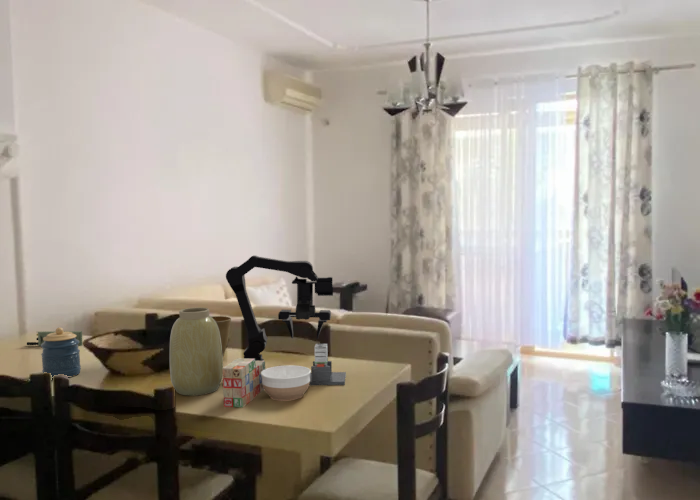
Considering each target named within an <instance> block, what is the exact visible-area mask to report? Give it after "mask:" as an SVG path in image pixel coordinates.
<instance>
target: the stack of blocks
mask: <svg viewBox="0 0 700 500" xmlns="http://www.w3.org/2000/svg"><path fill="white" fill-rule="evenodd" d="M265 369H266V361H265V360H264V361H255V359H249V358H244V357H243V358H241V357H237V358H235V359H234V360H232V361H231V362H230V363H228V364H227V365H225V366H223V377H222V390H223V407H224V408H225V407H226V408H229V407H230V408H243V407H245V406H247V405H248V404H249V403H250V402H251V401H253V400H254V399H255V397H257V396H258V395H259V394H260V393H262V392H263V391H265V390H264V388H263V384H262V376H261V372H262V371H263V370H265Z"/></svg>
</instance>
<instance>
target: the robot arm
mask: <svg viewBox="0 0 700 500" xmlns="http://www.w3.org/2000/svg"><path fill="white" fill-rule="evenodd" d="M255 268H259V269H265V270H271V271H272V270H273V271H277V272H285V273H289V274H290V275H292V276H293V275H294V276H295V278H294V279H292V280H291V281H292V282H291V284H293V285H296V306H295V311H292V309H281V310H280V311H279V312H278V315H277V316H278V317H277V318H278V320H280V321H281V322H283V323H285V324H286V327H287V328H288V332H289V334H290V337H291V339H293V338H294V325H293V318H295V320H309V319H310V318H315V319H316V318H318V321H317V330H316V339H319V338H320V334H321V330H322V328H323V326H324V323H327V322H328V321H330V320H331V318H332V312H331V310H330V309H321V310H319V311H317V312H316V305H314V294H316V295H317V296H318V297H321V296H323V297H327V296H328V297H331V296H332V297H333V296H334V285H333V276H328V277H318V275H317V274H316V273H315V270H314V267H313V264H312V263H311V262H310V261H308V260H291V261H289V260H284V259H283V260H282V259H281V260H280V259H275V258H271V257H270V258H268V257H263V256H258V255H252V256H250V257H249V258H248V259H247V260H246V261H244V262H243V263H242V264H240V265H239V266H233V267H230V268H229V269H228V270H227V272H226V273H225V278H226V281H227V283H228V285H229V287H230V288H231V290H232V291H233V292H234V294H235V296H236V300H237V302H238V306H239V309H240V312H241V315H242V318H243V320H244V323H245V327H246V330H247V339H248V340H247V341H248V345H247V346H246V348H245V350H244V351H243V353H242V354H243V358H249V359H255V361H265V360H264V358H263V354H261V353H263V351H264V350H265V348H266V345H267V342H268V339H269V338H268V337H267V335H266V330H265V329H266V328H261V327H260V326H259V324H258V322H257V319H256V316H255V315H256V314H255V313H254V310H253V307H252V304H251V301H250V298H249V295H248V292H247V288H246V287H247V285H246V284H247V283H246V276H245V275H247V273H249V272H251V270H253V269H255ZM307 279H308V280H307ZM309 280H310V281H309ZM313 292H314V293H313Z"/></svg>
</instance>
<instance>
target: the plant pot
mask: <svg viewBox="0 0 700 500" xmlns="http://www.w3.org/2000/svg"><path fill="white" fill-rule="evenodd" d="M210 316H211V315H210ZM211 317H212V318H213V319H214V320H215V321H216V323H217V325H218V328H219V332H220V338H221V345H222V356H223V357H224V356H225V352H226V349H227V346H228V342H229V337H230V331H231V324H232V323H231V322H232V318H231V316H230V317H229V316H223V315H215V316H213V315H212V316H211Z"/></svg>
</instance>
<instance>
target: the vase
mask: <svg viewBox="0 0 700 500" xmlns="http://www.w3.org/2000/svg"><path fill="white" fill-rule="evenodd" d="M178 313H179V317H178V318H177V319H176V320H175V321H174V323H173V325H172V328H171V331H170V337H169V355H168V356H169V357H168V359H169V374H170V381H171V385H172V386H173V388H174V390H175V392H176V393H177V394H179V395H183V396H200V395H201V396H202V395H208V394H211V393H213V392H215V391H217V390H218V389H219V387H220V386H221V383H222V381H223V368H224V363H223V362H224V359H223V358H224V356H222V345H221V338H220V332H219V328H218V325H217V323H216V321H215V320H214V319H213V318H212V317H211V315H210V308H207V307H187V308H184V309H183V308H182V309H179V311H178Z"/></svg>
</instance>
